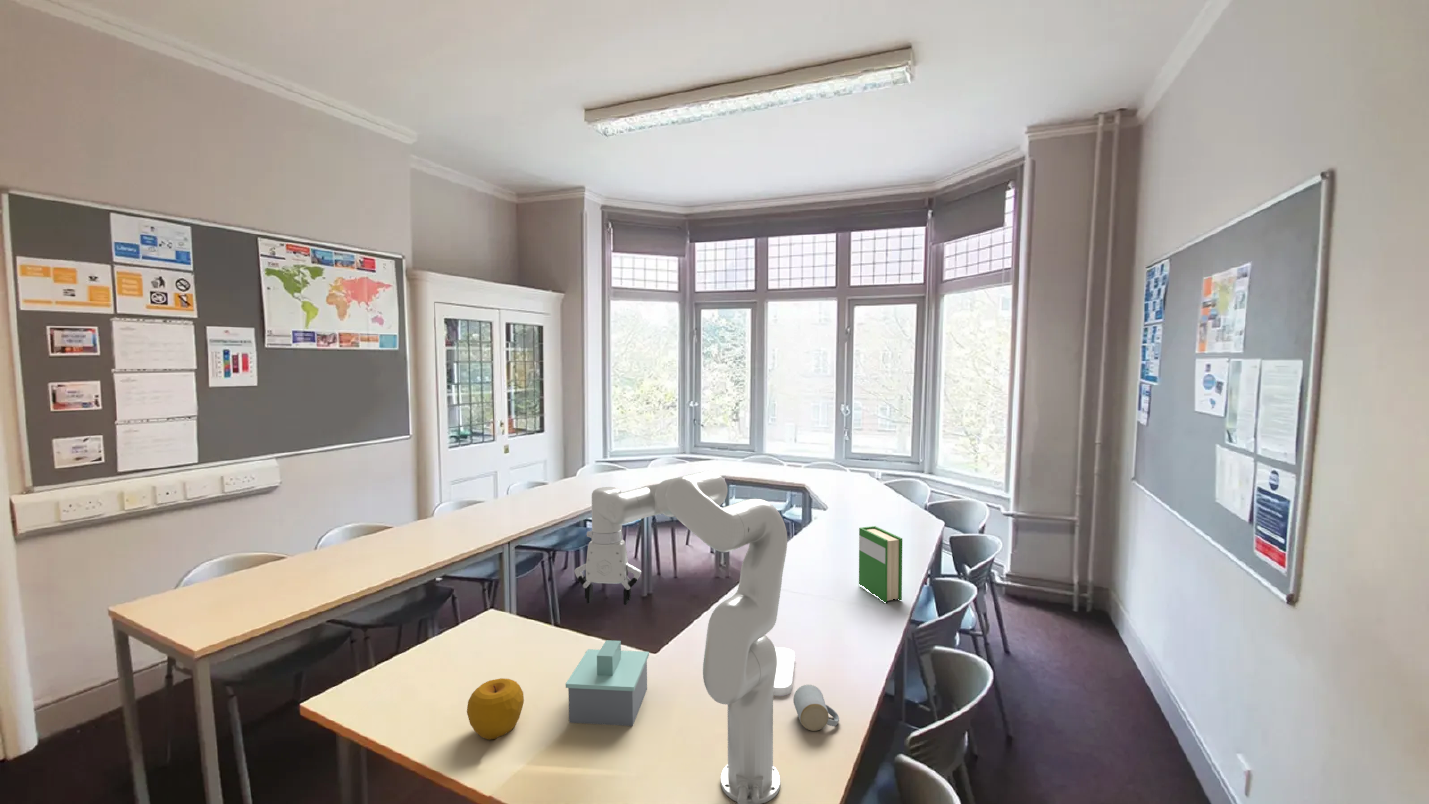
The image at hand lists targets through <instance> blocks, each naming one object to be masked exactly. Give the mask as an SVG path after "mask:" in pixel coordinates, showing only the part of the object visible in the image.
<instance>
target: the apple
mask: <svg viewBox="0 0 1429 804" xmlns="http://www.w3.org/2000/svg"><path fill="white" fill-rule="evenodd" d="M524 702H525V697H524V691H523V689H522V688H521V685H520V684H519V683H518V682H517V681H515V680H513V679H510V678H502V677H501V678H495V679H490V680H488V681H485V682H483V683H482V684H480V686H478V687H477V688H476V689H475V690H474V691H473V692H471V694H470V697H469V699H468V700H467V708H466V715H467V718H468V721H469V724H470V726H471V728H472V729H473V730H474V732H475V733H476V734H478V735H479V736H480V737H481V738H483V739H485V740H489V741H490V740H496V739H497V738H498V737H502V736H505V735H507V734H508V733H510V732H511V731H512V730H513V729H514V728H516V725H517V723H518V722H519V719H520V716H521V713H522V710H523V706H524Z"/></svg>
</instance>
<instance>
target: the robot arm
mask: <svg viewBox="0 0 1429 804" xmlns="http://www.w3.org/2000/svg"><path fill="white" fill-rule="evenodd" d="M727 495H728V485H727V482H726V480H725V479H724V477H723V476H722V475H720V474H719V473H717V472H713V471H709V470H707V471H705V470H704V471H701V472H700V471H699V472H696V473H691V474H688V475H683V476H678V477H673V478H670V479H665V480H662V481H661V482H660V483H657V484H653V485H648V486H643V487H639V488H634V489H630V490H626V491H621V490H620V488H618V487H613V486H602V487H598V488H595V489H594V490H593V491H592V493H591V530H589V531H586V537H588V538H590V539H591V540H590V541H589V542H588V545H587V546H588V547H587V551H586V562H585V563H584V564H582V565H580V566H578V567H576V568H575V569H574V570H573V572H574V574H575V577H576V578H577V581H578V582H579V583H580V584H581V585H582V587H583V588H584V599H585V600H586V604H591V602H592V600H593V599H594V584H617V585H618V584H621V585H622V586H623V587H624V589H623V605H624V606H627V605H628V603H629V602H630V601H631V600H632V587H633V586H634V585H635V584H636V583H637V581H638V580H639V578H640V576H641V574H642V570H641V569H639V568H637V567H636V566H634V565H631V564H630V563H629V559H628V551H627V546H626V541H625V540H624V539H623V525H626V524H629V523H632V522H634V521H635V522H636V521H638V520H641V519H645V518H648V517H649V518H650V517H653V516H657V515H664V516H665V517H669V518H674V517H675V519H677V520H678V522H680V523H681V524H682V525H684V527H686V528H687V529H688V530H689V531H690V532H691V533H693V534H694V535H695V536H696V537H698V538H699V539H700V540H701V541H702V542H703V543H704V544H706V545H707V546H708V547H710V548H711V549H713V550H715V551H717V552H721V553H729V552H733V551H736V550H738V549H741V548H742V547H744V546H746V545H748V548H747V550H746V551H747V552H746V553H745V555H744V558H743V561H742V564H741V568H740V574H739V575H740V577H739V583H738V586H737V591H736V592H735V594H733V595H732V596H730V597H728V598H727V599H725V600H724V601H722V602H721V603H719V604H718V605H717V606H716V607H715V608H714V609H713V611H712V613H711V614H710V618H709V619H708V623H707V629H706V638H705V648H704V654H703V662H702V663H703V664H702V678H703V679H702V680H703V683H704V686H705V689H706V692H707V694H708V695H709V696H710V698H712V700H714V701H715V702H716V703H718V704H720V705H727V764H726V765H725V766H724V768H723V769H722V770H721V774H720V786H721V788H722V789H721V790H722V791H723V793H724V794H725V795H726V796H727V797H729V799H731V800H732V801H734V802H737V804H766V803H767V802H769V801H772V800H773V798H775V797H776V796H777V795H778V794H779V791H780V789H781V776H780V773H779V771H778V769H777V768H776V767H775V766H774V695H773V691H774V683H775V677H776V670H777V654H776V650H775V647H776V646H775V645H774V644H773V642H772V640H771V639H770V638H769V637H768V636H767V634H768V633H770V632H771V631H772V630H773V628H774V627H775V625H776V623H777V619H778V614H779V613H778V612H779V607H780V606H779V605H780V597H781V592H782V591H781V590H782V582H783V572H784V567H785V562H786V556H787V552H788V551H787V550H788V532H787V528H786V527H787V525H786V524H785V521H784V519H783V517H782V515H781V514H780V512H779V511H778V510H777V508H776V507H775V506H774V505H773V504H772V503H770V502H769V501H767V500H765V499H761V498H749V499H744V500H741V501H738V502H735V503H732V504H730V505H726V506H722V507H721V505H722V504H724V502H725V500H726V499H727ZM584 571H585V575H584V574H583V572H584ZM629 573H632V574H633V576H632V578H630V577H629V576H628V575H629ZM593 583H594V584H593Z"/></svg>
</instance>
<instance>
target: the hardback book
mask: <svg viewBox="0 0 1429 804" xmlns="http://www.w3.org/2000/svg"><path fill="white" fill-rule="evenodd" d="M858 528H859V529H858V531H859V533H858V534H859V535H858V537H859V538H858V542H859V543H858V585H859V584H860V585H862V586H864V587H865V588H866V589H868V590H869V591H870V592H871V593H872V594H875V595H876V596H878V597H879V598H880V599H881V600H883V601H884V602H887V603H888V602H889V601H894V600H893V599H895V600H897V599H899V600H902V601H903V599H902V597H903V589H902V588H903V537H900V536H898V535H896V534H893V533H892V532H889V531H887V530H884V529H883V528H880V527H879V526H877V525H874V526H873V525H872V526H865V527H858Z"/></svg>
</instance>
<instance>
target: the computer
mask: <svg viewBox="0 0 1429 804" xmlns="http://www.w3.org/2000/svg"><path fill="white" fill-rule="evenodd" d="M774 647H775V650H776V654H777V670H776V677H775V683H774V691H773V697H774V696H775V697H783V696H787V695H789V694H790V693H792V689H793V681H794V680H793V679H794V671H795V665H796V664H795V663H796V661H795V660H796V654H795V651H794V650H792V649H790V648H787V647H779V646H778V647H777V646H774Z"/></svg>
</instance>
